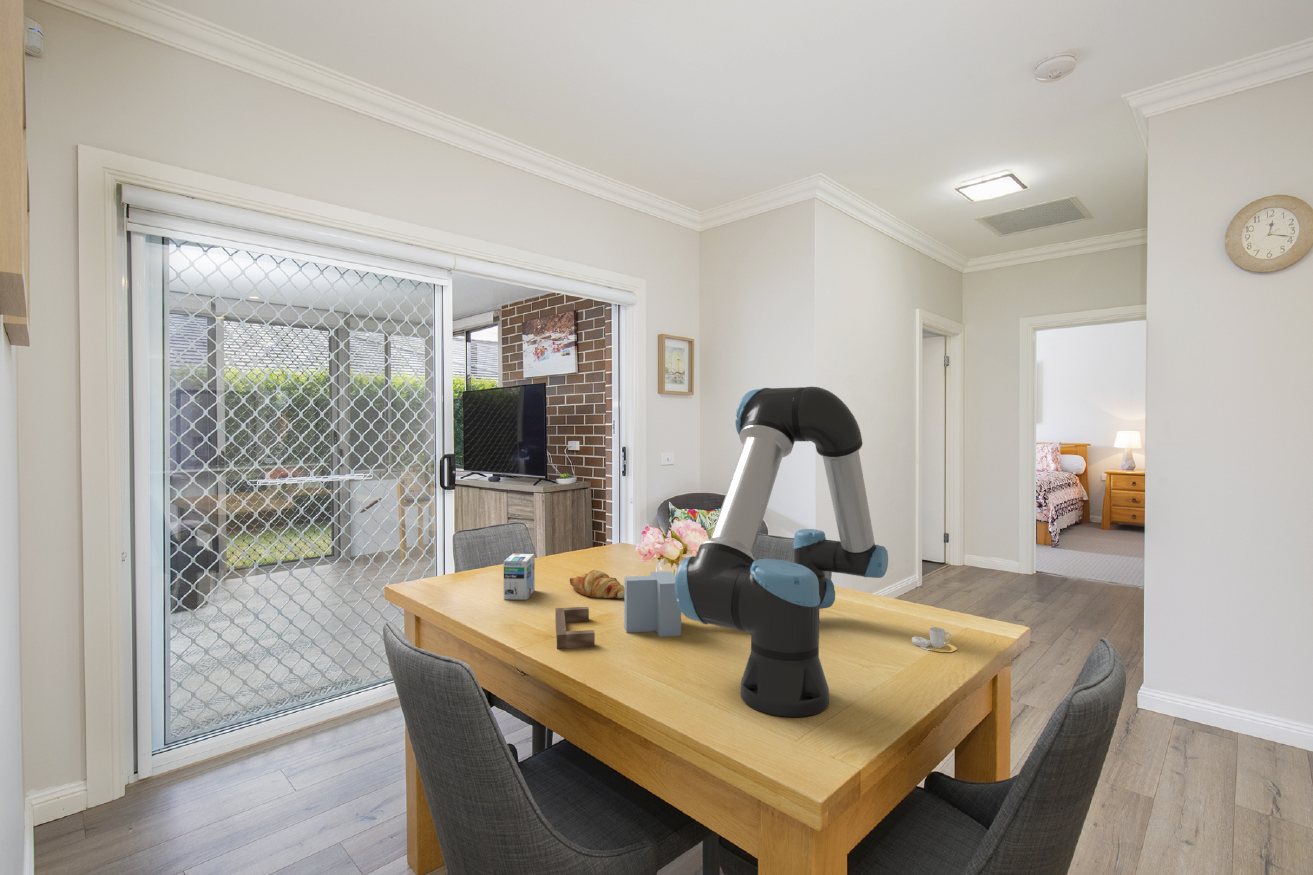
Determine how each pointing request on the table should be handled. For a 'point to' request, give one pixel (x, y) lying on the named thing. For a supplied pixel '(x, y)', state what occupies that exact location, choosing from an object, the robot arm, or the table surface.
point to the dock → (573, 637)
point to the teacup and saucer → (932, 638)
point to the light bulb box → (519, 576)
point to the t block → (652, 604)
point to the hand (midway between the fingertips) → (677, 599)
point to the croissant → (598, 585)
